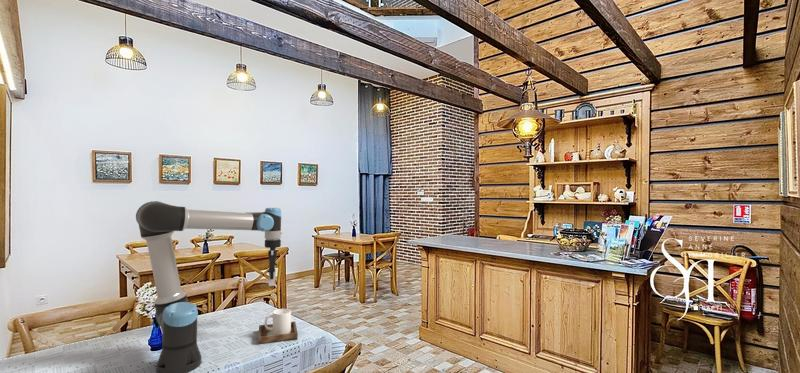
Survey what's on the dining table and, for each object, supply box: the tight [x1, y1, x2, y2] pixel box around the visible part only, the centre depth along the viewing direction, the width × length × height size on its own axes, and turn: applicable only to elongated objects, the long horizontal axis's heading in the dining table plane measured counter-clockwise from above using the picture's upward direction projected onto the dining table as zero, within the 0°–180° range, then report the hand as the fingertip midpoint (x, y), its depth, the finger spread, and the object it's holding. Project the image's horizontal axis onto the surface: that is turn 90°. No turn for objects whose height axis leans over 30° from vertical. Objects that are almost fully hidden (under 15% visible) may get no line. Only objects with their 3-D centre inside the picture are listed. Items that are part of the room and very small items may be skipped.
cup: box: [263, 308, 292, 335], centre depth 175 cm, size 8×12×10 cm
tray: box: [257, 321, 299, 345], centre depth 175 cm, size 17×16×3 cm
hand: (272, 282), depth 181 cm, fingers open, 13 cm apart
